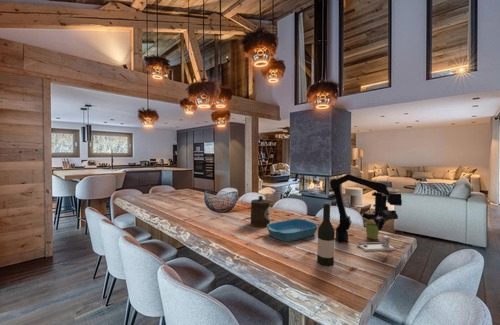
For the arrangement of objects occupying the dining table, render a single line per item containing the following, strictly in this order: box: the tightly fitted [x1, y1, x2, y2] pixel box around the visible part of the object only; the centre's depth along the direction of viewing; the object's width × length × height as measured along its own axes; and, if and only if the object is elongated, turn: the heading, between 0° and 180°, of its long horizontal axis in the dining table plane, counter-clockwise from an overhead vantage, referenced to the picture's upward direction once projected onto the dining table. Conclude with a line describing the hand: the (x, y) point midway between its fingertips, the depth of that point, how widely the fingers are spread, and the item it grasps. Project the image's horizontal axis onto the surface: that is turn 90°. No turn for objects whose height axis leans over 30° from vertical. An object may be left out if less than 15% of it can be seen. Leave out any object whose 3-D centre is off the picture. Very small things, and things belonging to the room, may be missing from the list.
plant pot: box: [364, 222, 380, 240], centre depth 154 cm, size 9×9×9 cm
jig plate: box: [356, 241, 396, 252], centre depth 137 cm, size 18×8×2 cm, turn 98°
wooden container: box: [250, 195, 271, 228], centre depth 180 cm, size 15×15×22 cm
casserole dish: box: [266, 218, 319, 242], centre depth 157 cm, size 37×22×7 cm, turn 122°
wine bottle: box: [316, 202, 336, 268], centre depth 116 cm, size 8×8×30 cm
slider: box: [380, 235, 391, 246], centre depth 137 cm, size 3×4×5 cm
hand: (379, 230), depth 137 cm, fingers closed
